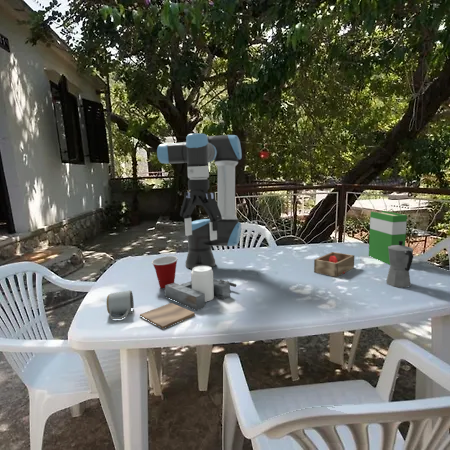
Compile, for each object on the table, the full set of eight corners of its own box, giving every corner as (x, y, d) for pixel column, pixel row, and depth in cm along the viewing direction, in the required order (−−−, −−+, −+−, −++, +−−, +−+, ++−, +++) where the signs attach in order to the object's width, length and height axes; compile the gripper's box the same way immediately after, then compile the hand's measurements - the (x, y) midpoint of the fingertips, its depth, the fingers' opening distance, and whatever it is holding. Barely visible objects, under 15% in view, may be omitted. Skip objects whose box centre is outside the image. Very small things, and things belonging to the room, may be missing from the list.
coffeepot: (379, 278, 143) (381, 237, 140) (401, 278, 143) (404, 237, 140) (397, 291, 128) (400, 246, 125) (422, 291, 128) (425, 245, 125)
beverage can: (197, 305, 121) (196, 273, 119) (189, 297, 128) (187, 267, 126) (217, 300, 124) (216, 269, 122) (208, 293, 131) (207, 264, 129)
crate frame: (314, 272, 154) (314, 259, 153) (332, 263, 167) (332, 251, 166) (336, 277, 146) (337, 263, 145) (353, 267, 159) (354, 255, 158)
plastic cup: (150, 284, 143) (149, 257, 141) (175, 280, 147) (174, 254, 145) (156, 293, 133) (154, 264, 131) (182, 288, 138) (180, 260, 136)
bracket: (344, 274, 151) (345, 257, 150) (335, 275, 150) (335, 258, 149) (332, 266, 163) (333, 251, 161) (323, 267, 162) (324, 251, 161)
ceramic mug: (110, 309, 119) (108, 289, 117) (134, 307, 120) (132, 287, 119) (105, 323, 108) (103, 301, 107) (131, 320, 110) (129, 299, 108)
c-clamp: (165, 297, 129) (164, 285, 128) (207, 282, 145) (207, 271, 144) (196, 310, 116) (196, 296, 115) (239, 292, 132) (239, 280, 131)
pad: (140, 317, 112) (139, 314, 112) (171, 305, 121) (171, 302, 121) (162, 329, 103) (162, 326, 103) (194, 315, 112) (194, 312, 112)
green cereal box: (368, 255, 179) (370, 211, 175) (381, 255, 180) (383, 210, 176) (390, 265, 162) (393, 216, 158) (403, 263, 163) (407, 215, 159)
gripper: (168, 179, 124) (171, 235, 128) (215, 179, 107) (217, 243, 111) (184, 178, 130) (186, 232, 133) (231, 178, 112) (232, 240, 116)
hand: (200, 237), depth 122 cm, fingers open, 13 cm apart
